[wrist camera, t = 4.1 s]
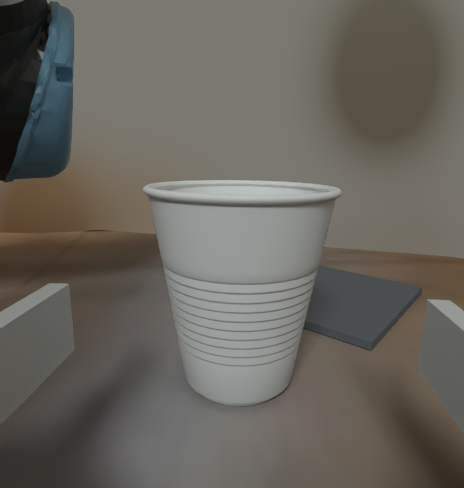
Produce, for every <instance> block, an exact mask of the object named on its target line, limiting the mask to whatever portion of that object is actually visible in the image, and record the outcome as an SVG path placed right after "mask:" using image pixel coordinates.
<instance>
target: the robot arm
mask: <svg viewBox="0 0 464 488" xmlns="http://www.w3.org/2000/svg"><path fill="white" fill-rule="evenodd" d="M73 61H74V18H73V14H72V13H71V11H70V10H69V9H68V8H66V7H63V6H60V4H59V3H58V2H52V1H51V2H50V3H49V4H48V3H47V0H0V180H2V181H4V182H12V181H13V180H14V179H28V178H49V177H52V176H56V175H58V174H59V173H60V172H62V171H63V170H64V169H65V168H66V167H67V165H68V163H69V160H70V153H71V138H72V110H73ZM74 350H75V342H74V332H73V321H72V311H71V300H70V290H69V284H60V283H49V284H47V285H45V286H44V287H42V288H40V289H39V290H37V291H35V292H34V293H32V294H30V295H28V296H27V297H25V298H23V299H22V300H20V301H18V302H16V303H15V304H13V305H11V306H10V307H8V308H6V309H4V310H3V311H1V312H0V426H1V425H2V424H3V423H4V422H5V421H6V420H7V418H8V417H9V416H10V415H11V414H12V413H13V412H14V411H15V410H16V409H17V408H18V407H19V406H20V405H21V404H22V403H23V402H24V401H25V400H26V399H27V398H28V397H29V396H30V395H31V394H32V393H33V392H34V391H35V390H36V389H37V388H38V387H39V386H40V385H41V384H42V383H43V382H44V381H45V380H46V379H47V378H48V377H49V376H50V375H51V374H52V373H53V372H54V371H55V370H56V369H57V367H58V366H59V365H60V364H61V363H62V362H63V361H64V360H65V359H66V358H67V357H68V356H69V355H70V354H71V353H72V352H73V351H74ZM417 370H418V372H419V373H420V375H421V376H422V377H423V379H424V380H425V381H426V383H427V384H428V385H429V387H430V388H431V390H432V391H433V392H434V394H435V395H436V396H437V398H438V399H439V401H440V402H441V403H442V405H443V406H444V407H445V409H446V410H447V411H448V413H449V414H450V416H451V417H452V418H453V420H454V421H455V422H456V424H457V425H458V426H459V428H460V429H461V431H462V432H463V433H464V311H463V310H462V309H460V308H459V307H458V306H456V305H455V304H454V303H452V302H451V301H450V300H428V299H427V303H426V310H425V316H424V323H423V330H422V336H421V343H420V350H419V356H418V363H417Z"/></svg>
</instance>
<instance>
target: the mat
mask: <svg viewBox="0 0 464 488" xmlns="http://www.w3.org/2000/svg"><path fill="white" fill-rule="evenodd" d="M421 293H422V287H418V286H413V285H409V284H404V283H399V282H394V281H390V280H385V279H380V278H375V277H371V276H366V275H361V274H357V273H352V272H347V271H342V270H338V269H333V268H328V267H324V266H318V268H317V275H316V276H315V284H314V285H313V291H312V293H311V298H310V302H309V306H308V310H307V314H306V319H305V322H304V327H303V328H306V329H309V330H312V331H314V332H317V333H320V334H323V335H326V336H329V337H332V338H335V339H338V340H341V341H344V342H347V343H350V344H353V345H356V346H359V347H362V348H365V349H368V350H372V349H373V348H374V347H375V346H376V345H377V343H378V342H379V341H380V340H381V339H382V338H383V337H384V335H385V334H386V333H387V332H388V331H389V330H390V329H391V327H392V326H393V325H394V324H395V323H396V322H397V321H398V319H399V318H400V317H401V316H402V315H403V314H404V313H405V311H406V310H407V309H408V308H409V307H410V306H411V305H412V304H413V302H414V301H415V300H416V299H417V298H418V297H419V296H420V294H421Z"/></svg>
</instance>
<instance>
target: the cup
mask: <svg viewBox="0 0 464 488" xmlns="http://www.w3.org/2000/svg"><path fill="white" fill-rule="evenodd" d="M143 192H144V193H145V194H146V195H147V196H149V201H150V206H151V211H152V216H153V221H154V226H155V231H156V236H157V241H158V246H159V250H160V255H161V260H162V263H163V264H164V272H165V279H166V281H167V288H168V290H169V298H170V300H171V307H172V314H173V316H174V323H175V325H176V331H177V338H178V340H179V349H180V354H181V359H182V363H183V368H184V373H185V377H186V379H187V382H188V383H189V385H190V386H191V387H192V388H193V389H194V390H195V391H196V392H198V393H199V394H201V395H202V396H204V397H205V398H207V399H209V400H211V401H214V402H217V403H220V404H224V405H230V406H249V405H255V404H259V403H263V402H265V401H267V400H270V399H271V398H273V397H275V396H276V395H278V394H280V393H281V392H282V391H283V390H284V389H285V388H286V387H287V386H288V384H289V382H290V380H291V377H292V373H293V369H294V365H295V361H296V357H297V353H298V347H299V343H300V338H301V335H302V330H303V327H304V322H305V319H306V314H307V310H308V306H309V302H310V298H311V293H312V291H313V285H314V284H315V276H316V275H317V268H318V266H319V264H320V260H321V256H322V252H323V248H324V244H325V240H326V236H327V232H328V228H329V224H330V219H331V216H332V212H333V208H334V203H335V200H336V199H337V198H339V197H340V196H341V190H340V189H338V188H335V187H332V186H326V185H318V184H309V183H308V184H307V183H296V182H279V181H250V180H199V181H198V180H197V181H172V182H161V183H153V184H149V185H146V186H145V187H144V188H143Z"/></svg>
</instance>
